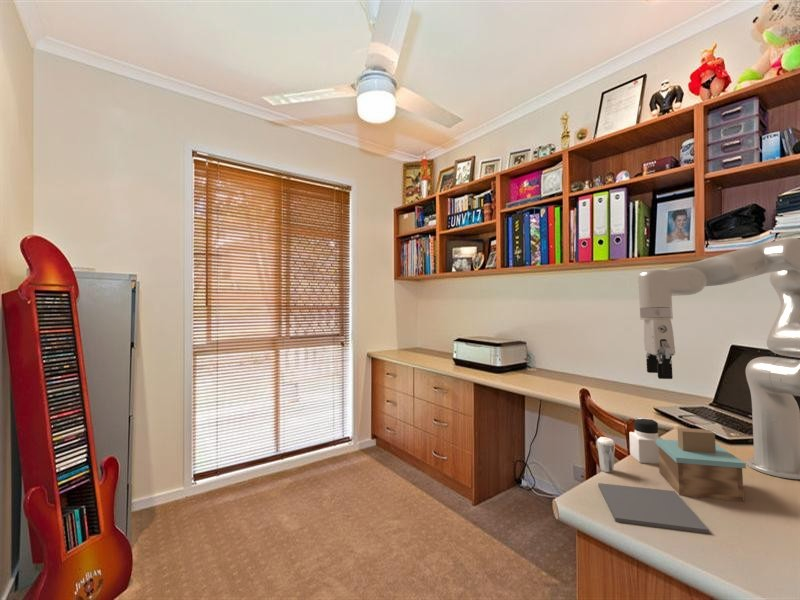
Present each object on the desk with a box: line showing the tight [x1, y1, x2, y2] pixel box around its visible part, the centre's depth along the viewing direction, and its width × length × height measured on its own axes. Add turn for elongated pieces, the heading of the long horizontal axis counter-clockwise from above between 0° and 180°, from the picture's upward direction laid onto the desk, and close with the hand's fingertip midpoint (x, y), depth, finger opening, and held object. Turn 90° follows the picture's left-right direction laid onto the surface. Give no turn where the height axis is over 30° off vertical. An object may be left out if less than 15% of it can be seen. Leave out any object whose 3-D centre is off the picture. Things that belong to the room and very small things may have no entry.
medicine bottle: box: [628, 417, 663, 465], centre depth 114 cm, size 7×7×12 cm
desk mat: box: [597, 482, 710, 535], centre depth 87 cm, size 17×17×1 cm
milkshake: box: [595, 435, 616, 474], centre depth 107 cm, size 4×5×10 cm
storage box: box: [658, 446, 745, 503], centre depth 97 cm, size 13×13×8 cm
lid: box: [656, 427, 747, 469], centre depth 97 cm, size 14×14×7 cm
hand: (659, 375), depth 104 cm, fingers open, 9 cm apart
